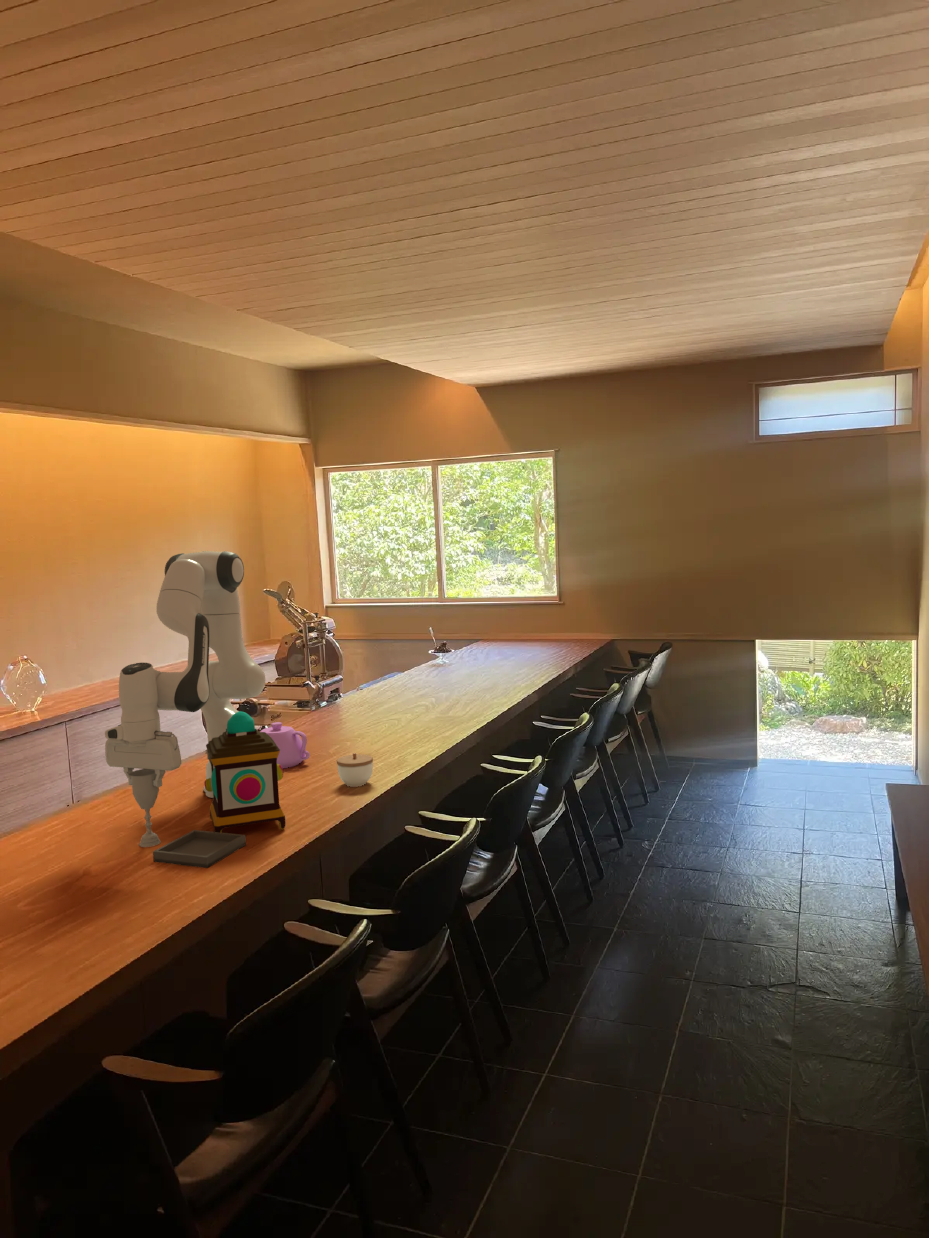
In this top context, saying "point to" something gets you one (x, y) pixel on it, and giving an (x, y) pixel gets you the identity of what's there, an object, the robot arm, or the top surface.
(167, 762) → the robot arm
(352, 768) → the lidded jar
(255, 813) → the decorative lantern
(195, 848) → the tray
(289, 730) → the teapot
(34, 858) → the top surface
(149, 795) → the chalice
